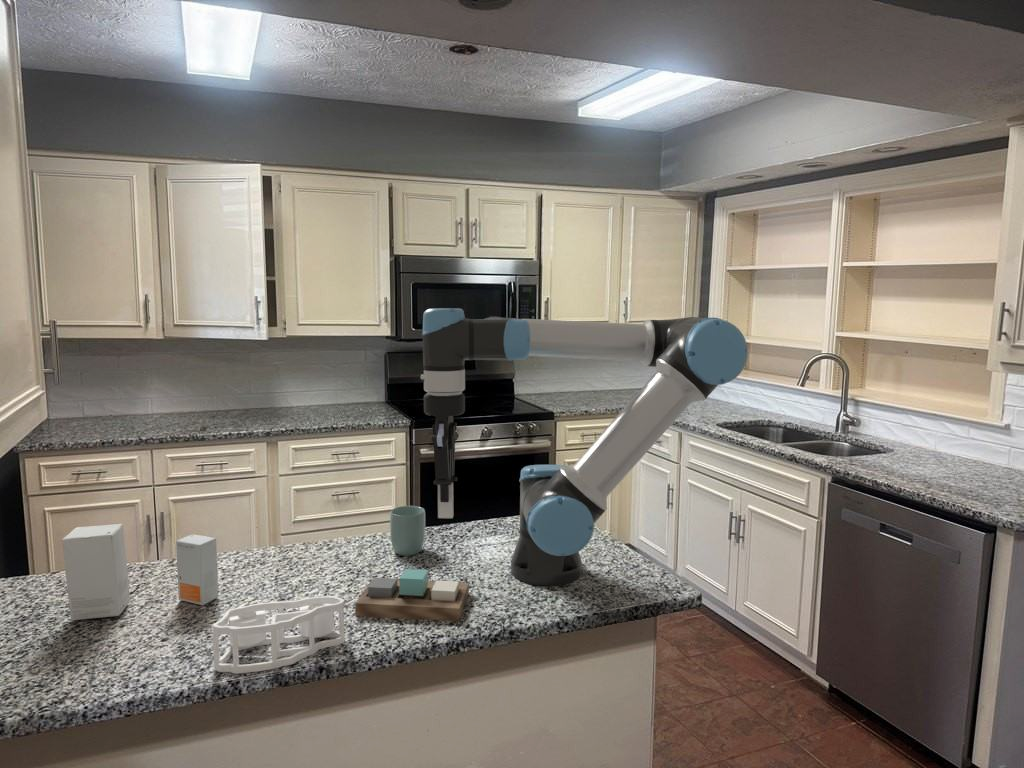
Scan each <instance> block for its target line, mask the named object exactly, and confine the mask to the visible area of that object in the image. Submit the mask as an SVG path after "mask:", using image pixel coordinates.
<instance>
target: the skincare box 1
mask: <svg viewBox="0 0 1024 768" xmlns="http://www.w3.org/2000/svg"><path fill="white" fill-rule="evenodd" d="M124 533H125V531H124V524H123V523H117V524H116V523H115V524H103V525H91V526H90V525H89V526H78V527H75V528H74V529H72V530H71V532H69V533H68V534H67V535H65V536H64V537H63V538H62V539H61V543H62V544H61V545H62V546H61V547H62V553H63V554H62V555H63V562H64V563H63V564H64V571H65V579H66V589H67V597H68V598H67V599H68V607H69V615H70V621H79V620H89V619H90V620H92V619H100V618H108V617H110V618H111V617H119V616H120V615H121V614H122V613H123V611H124V610H125V609H126V607H127V606H128V605H129V603H130V602H131V594H130V583H129V574H128V562H127V561H128V560H127V554H126V553H127V552H126V543H125V542H126V541H125V534H124Z"/></svg>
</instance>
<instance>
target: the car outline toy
mask: <svg viewBox="0 0 1024 768" xmlns="http://www.w3.org/2000/svg"><path fill="white" fill-rule="evenodd" d="M297 608H299V609H298V611H289V612H285V611H284V609H285V610H287V609H288V610H290V609H297ZM344 608H345V599H343V598H341V597H338V596H331V595H325V596H323V595H322V596H311V597H306V598H302V599H296V600H284V601H272V602H271V601H270V602H269V601H268V602H260V603H254V604H250V605H245V606H240V607H236V608H230V609H227V610H226V611H225V613H224V615H223V616H222V617H221V618H220V620H218V621H216V622H214V623H213V624H212V629H211V630H212V646H213V647H212V648H213V649H212V651H213V669H214V670H215V671H216V672H219V673H231V674H247V673H255V672H261V671H269V670H274V669H278V668H280V667H285V666H286V667H287V666H291V665H293V664H295V663H297V662H298V661H301V660H303V659H305V658H307V657H309V656H311V655H313V654H314V653H317V651H319V650H322V649H324V648H325V649H326V648H330V647H336V646H338V645H342V644H343V643H344V642H345V640H346V638H345V636H346V635H345V609H344ZM271 610H277V611H278V613H275V614H272V616H271V623H267V620H266V616H267V615H266V611H271ZM337 611H338V628H339V629H338V630H335V612H337ZM227 624H228V625H227ZM297 625H299V633H300V634H296V635H285V629H291V628H293V627H295V626H297ZM267 633H270V637H267ZM219 635H229V642H230V645H229V646H228V647H227V648H226V651H225V652H224V653H223V655H222V656H221V657H220V644H219V643H220V642H219V641H220V640H219ZM318 638H319V639H320V638H333V639H327V640H323V641H318V642H315V639H318ZM306 640H308V644H309V645H306V646H299V647H292V648H284V649H281V645H280V644H292V643H299V642H304V641H306ZM265 645H266V646H267V645H271V660H269V661H264V662H263V661H262V662H256V663H255V662H254V663H246V664H245V663H244V664H240V662H239V661H240V660H239V656H240V655H239V651H243V650H246V649H251V648H253V647H254V648H255V647H260V646H265ZM231 656H232V663H228V661H229V660H230V658H231Z"/></svg>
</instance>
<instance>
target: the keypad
mask: <svg viewBox="0 0 1024 768" xmlns="http://www.w3.org/2000/svg"><path fill="white" fill-rule="evenodd" d="M373 580H374V578H372V579H371V581H370V582H369V583H368V585H367V586H366V588H365V589H364V591H363V592H362V593H361V594H360V595H359V597H358V598H357V600H356V602H355V605H354V606H355V614H354V615H355V617H365V618H366V617H367V618H381V619H382V618H384V619H405V620H408V619H409V620H423V621H426V620H427V621H445V622H446V621H450V622H460V621H461V617H462V615H463V612H464V609H465V606H466V603H467V600H468V598H469V594H470V593H469V591H470V590H469V583H468V582H459V596H458V599H457V601H443V600H431V590H432V588H433V586H434V584H435V582H436V581H434V580H432V581H429V580H428V587H427V589H426V591H425V593H424V595H423V596H414V595H400V579H397V592H396V593H395V595H394V597H393V598H384V597H368V587H369V585H370V584H371V582H372V581H373Z"/></svg>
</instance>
